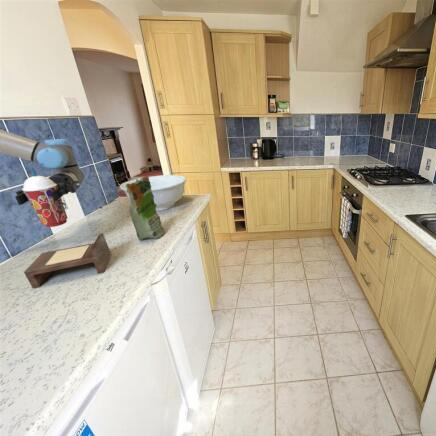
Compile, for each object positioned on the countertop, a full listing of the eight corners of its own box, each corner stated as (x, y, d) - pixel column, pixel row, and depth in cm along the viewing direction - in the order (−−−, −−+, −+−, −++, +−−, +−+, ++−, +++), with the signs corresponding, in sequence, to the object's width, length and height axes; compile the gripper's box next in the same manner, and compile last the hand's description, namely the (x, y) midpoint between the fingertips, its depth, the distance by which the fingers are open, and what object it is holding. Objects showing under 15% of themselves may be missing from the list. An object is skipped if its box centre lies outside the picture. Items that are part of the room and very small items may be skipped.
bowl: (199, 196, 152) (195, 173, 146) (175, 217, 122) (169, 189, 116) (149, 197, 153) (142, 174, 147) (113, 218, 123) (103, 190, 117)
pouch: (161, 227, 111) (147, 173, 101) (170, 236, 103) (155, 178, 93) (134, 236, 104) (115, 178, 94) (141, 245, 96) (122, 184, 86)
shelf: (32, 288, 73) (18, 263, 70) (49, 267, 83) (37, 245, 80) (103, 272, 80) (94, 248, 76) (111, 254, 90) (103, 233, 86)
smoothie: (76, 221, 88) (54, 166, 80) (47, 230, 81) (20, 171, 73) (64, 217, 91) (41, 164, 83) (35, 226, 84) (7, 169, 76)
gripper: (97, 187, 102) (80, 204, 83) (32, 195, 94) (-2, 215, 75) (90, 170, 99) (72, 182, 80) (23, 176, 91) (-15, 192, 72)
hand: (36, 198), depth 77 cm, fingers closed on smoothie, 8 cm apart
